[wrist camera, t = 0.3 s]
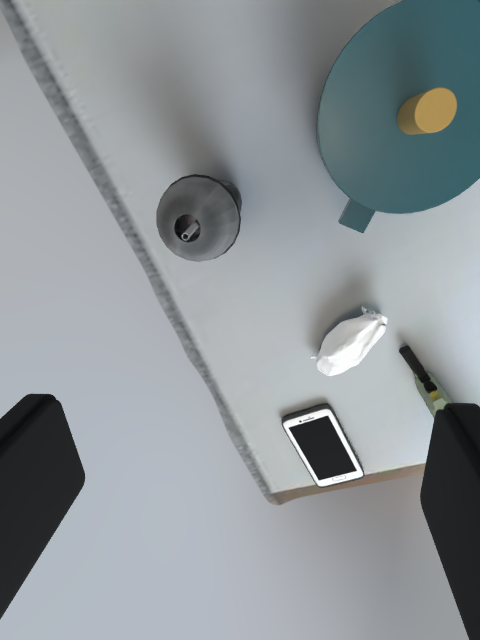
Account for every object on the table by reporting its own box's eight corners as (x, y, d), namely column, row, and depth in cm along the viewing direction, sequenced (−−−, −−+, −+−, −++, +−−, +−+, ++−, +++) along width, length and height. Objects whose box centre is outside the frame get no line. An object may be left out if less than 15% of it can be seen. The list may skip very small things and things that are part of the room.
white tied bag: (341, 294, 46) (304, 361, 48) (367, 308, 39) (323, 385, 42) (372, 309, 47) (335, 374, 49) (402, 325, 41) (358, 399, 43)
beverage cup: (181, 181, 41) (95, 207, 23) (240, 156, 39) (197, 165, 22) (205, 241, 44) (146, 306, 26) (262, 221, 42) (240, 276, 24)
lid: (287, 172, 32) (286, 177, 27) (375, -38, 25) (395, -85, 20) (438, 237, 32) (465, 254, 27) (560, 48, 26) (626, 24, 21)
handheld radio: (474, 471, 53) (387, 350, 47) (497, 462, 52) (411, 337, 46) (499, 512, 47) (404, 379, 41) (525, 502, 46) (431, 364, 40)
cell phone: (318, 484, 58) (318, 489, 58) (279, 417, 54) (279, 421, 53) (365, 472, 56) (366, 478, 55) (329, 401, 51) (329, 405, 50)
